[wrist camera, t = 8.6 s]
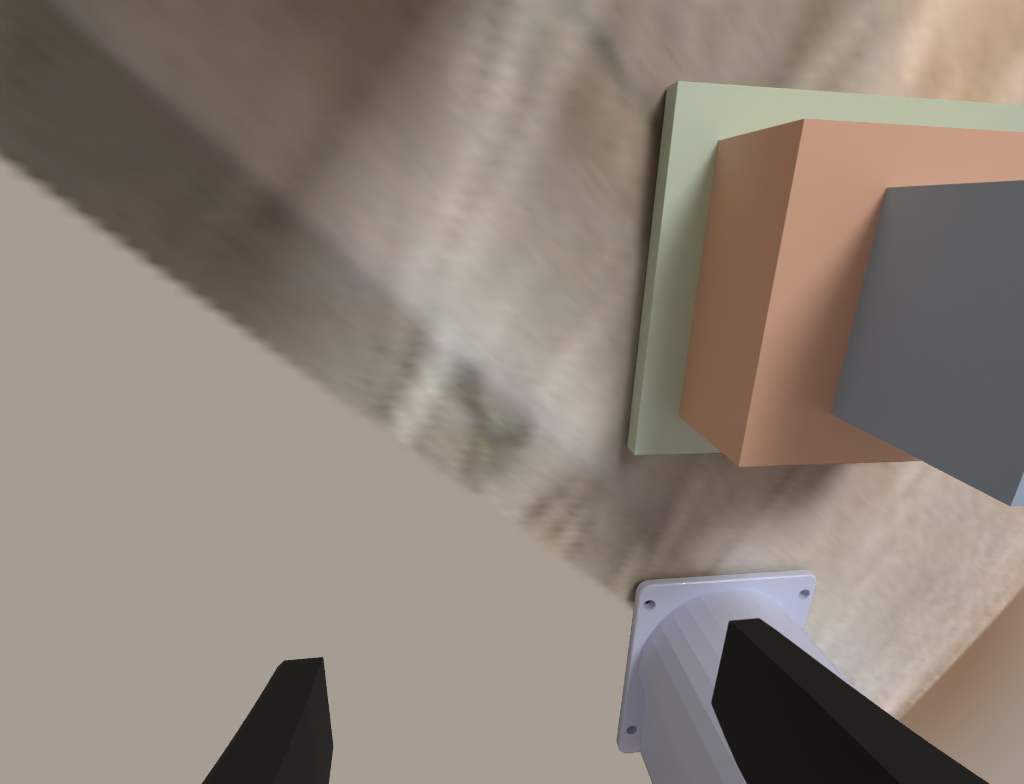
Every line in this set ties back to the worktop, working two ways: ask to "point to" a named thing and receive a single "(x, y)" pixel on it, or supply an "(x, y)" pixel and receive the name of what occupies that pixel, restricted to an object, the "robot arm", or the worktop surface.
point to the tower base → (687, 214)
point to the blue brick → (944, 333)
